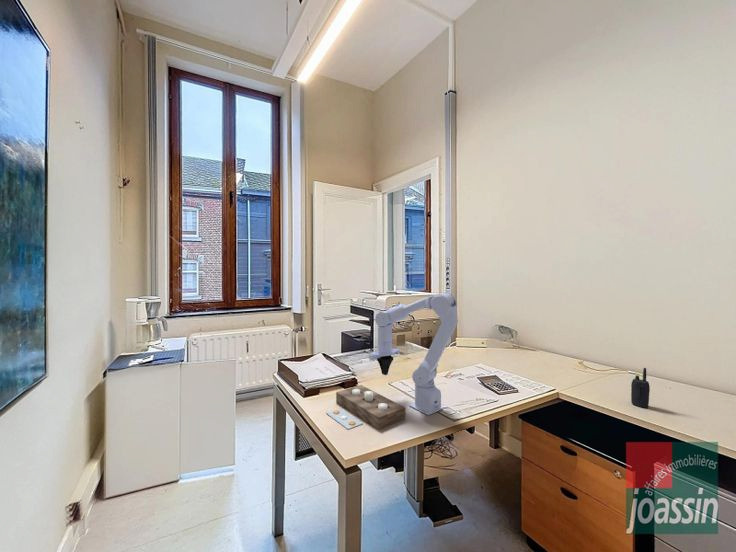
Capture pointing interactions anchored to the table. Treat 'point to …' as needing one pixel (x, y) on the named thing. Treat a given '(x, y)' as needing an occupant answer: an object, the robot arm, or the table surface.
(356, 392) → the button
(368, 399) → the middle button
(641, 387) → the two-way radio
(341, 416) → the pattern card
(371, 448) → the table surface
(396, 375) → the table surface
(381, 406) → the button
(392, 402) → the button box
